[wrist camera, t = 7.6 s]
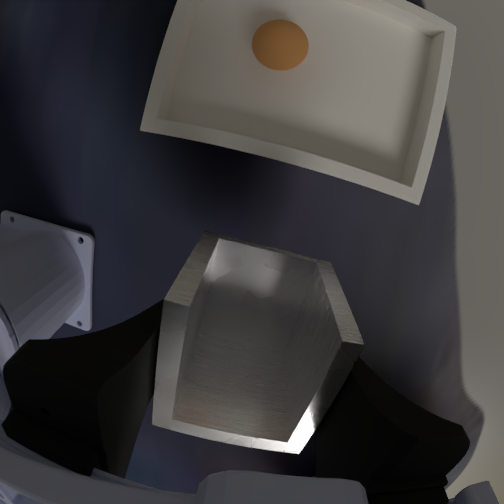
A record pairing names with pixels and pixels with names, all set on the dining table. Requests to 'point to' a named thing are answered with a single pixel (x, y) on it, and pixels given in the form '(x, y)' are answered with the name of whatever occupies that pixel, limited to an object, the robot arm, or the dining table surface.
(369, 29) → the tray
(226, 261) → the silver open box
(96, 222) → the dining table surface
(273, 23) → the ball
